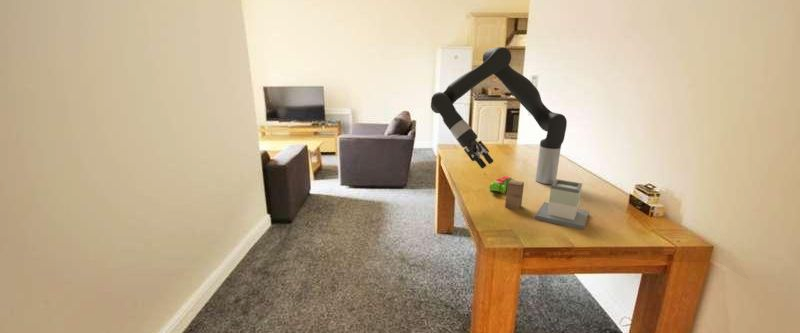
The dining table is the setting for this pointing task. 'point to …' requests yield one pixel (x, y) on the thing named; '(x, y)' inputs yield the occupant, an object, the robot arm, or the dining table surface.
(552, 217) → the tower
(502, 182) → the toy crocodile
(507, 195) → the walnut brick
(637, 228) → the dining table surface
